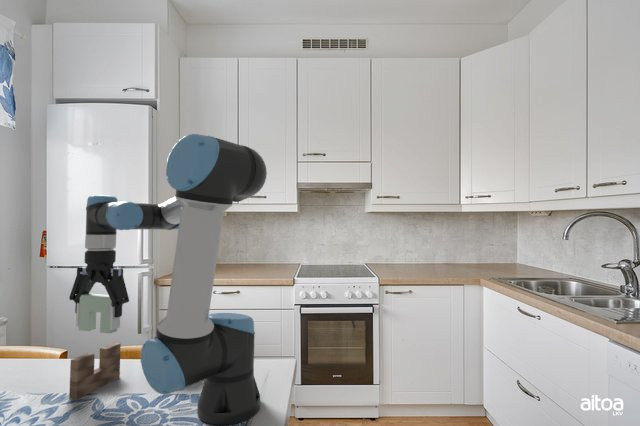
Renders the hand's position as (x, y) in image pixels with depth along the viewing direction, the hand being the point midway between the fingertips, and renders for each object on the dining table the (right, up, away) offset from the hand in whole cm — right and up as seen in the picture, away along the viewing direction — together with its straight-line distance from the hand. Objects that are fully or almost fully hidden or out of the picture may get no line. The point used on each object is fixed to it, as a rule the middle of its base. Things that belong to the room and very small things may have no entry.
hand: (97, 326), depth 98 cm
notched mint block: (0, -1, 0) cm, 1 cm away
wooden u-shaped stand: (0, -17, -1) cm, 17 cm away
